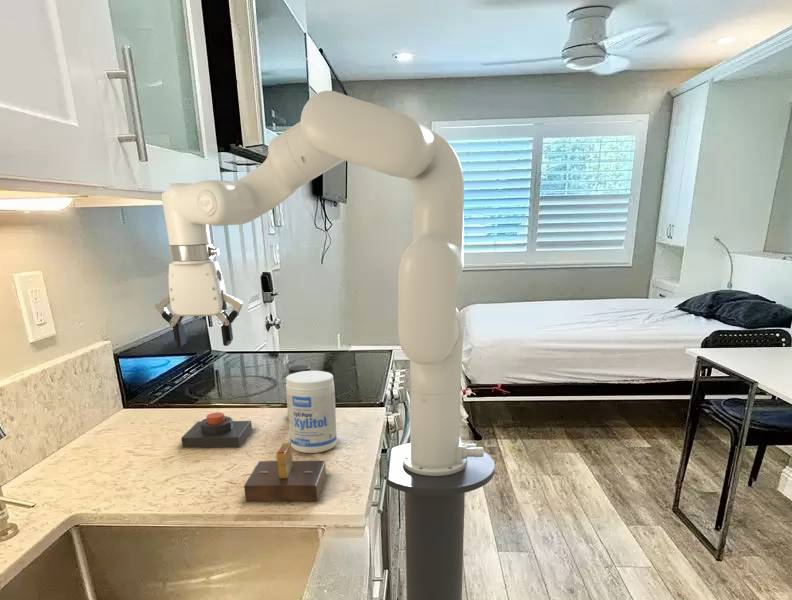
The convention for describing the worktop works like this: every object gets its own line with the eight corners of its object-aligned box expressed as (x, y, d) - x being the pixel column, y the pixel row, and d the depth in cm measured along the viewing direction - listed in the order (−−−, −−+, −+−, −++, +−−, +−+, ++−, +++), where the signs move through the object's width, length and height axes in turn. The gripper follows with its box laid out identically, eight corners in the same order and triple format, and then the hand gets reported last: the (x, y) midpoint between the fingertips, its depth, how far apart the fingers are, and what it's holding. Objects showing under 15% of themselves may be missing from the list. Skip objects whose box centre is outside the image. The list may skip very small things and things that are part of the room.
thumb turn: (285, 466, 100) (282, 441, 99) (293, 466, 100) (290, 441, 98) (278, 478, 96) (276, 452, 94) (287, 478, 96) (284, 452, 94)
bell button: (227, 419, 123) (226, 412, 122) (222, 425, 119) (220, 417, 119) (210, 420, 123) (209, 412, 122) (205, 425, 120) (204, 418, 119)
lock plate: (326, 475, 103) (324, 459, 102) (317, 501, 94) (316, 484, 93) (261, 476, 104) (259, 460, 103) (246, 501, 95) (243, 484, 94)
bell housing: (252, 430, 127) (250, 413, 125) (239, 447, 117) (237, 429, 116) (199, 430, 127) (196, 413, 126) (182, 447, 118) (179, 429, 117)
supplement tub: (295, 457, 111) (288, 385, 106) (286, 441, 120) (280, 373, 114) (343, 450, 114) (339, 379, 109) (331, 434, 123) (327, 367, 117)
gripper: (242, 252, 111) (252, 340, 118) (155, 254, 112) (170, 341, 119) (230, 255, 104) (242, 348, 111) (138, 257, 105) (155, 349, 112)
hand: (204, 344), depth 115 cm, fingers open, 8 cm apart
